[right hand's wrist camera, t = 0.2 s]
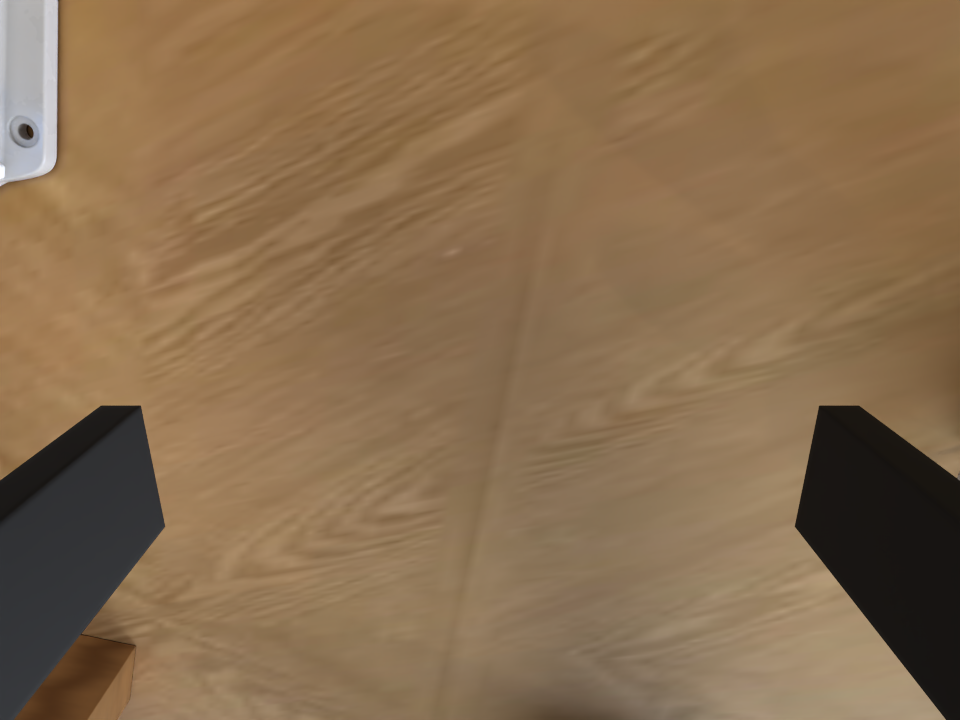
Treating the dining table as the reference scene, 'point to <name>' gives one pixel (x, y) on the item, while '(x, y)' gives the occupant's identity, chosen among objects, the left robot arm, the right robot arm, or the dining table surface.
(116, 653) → the bar
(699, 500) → the dining table surface
